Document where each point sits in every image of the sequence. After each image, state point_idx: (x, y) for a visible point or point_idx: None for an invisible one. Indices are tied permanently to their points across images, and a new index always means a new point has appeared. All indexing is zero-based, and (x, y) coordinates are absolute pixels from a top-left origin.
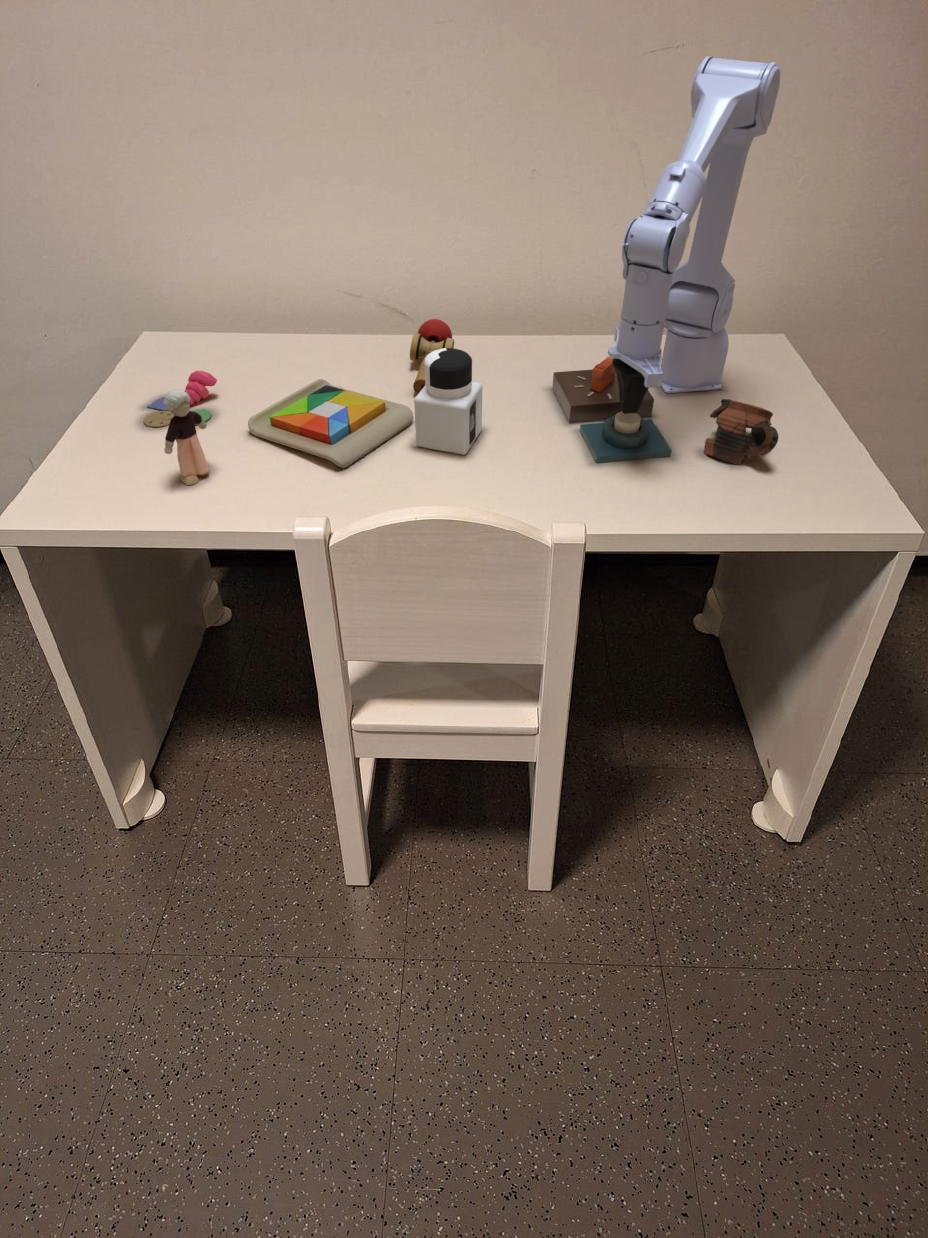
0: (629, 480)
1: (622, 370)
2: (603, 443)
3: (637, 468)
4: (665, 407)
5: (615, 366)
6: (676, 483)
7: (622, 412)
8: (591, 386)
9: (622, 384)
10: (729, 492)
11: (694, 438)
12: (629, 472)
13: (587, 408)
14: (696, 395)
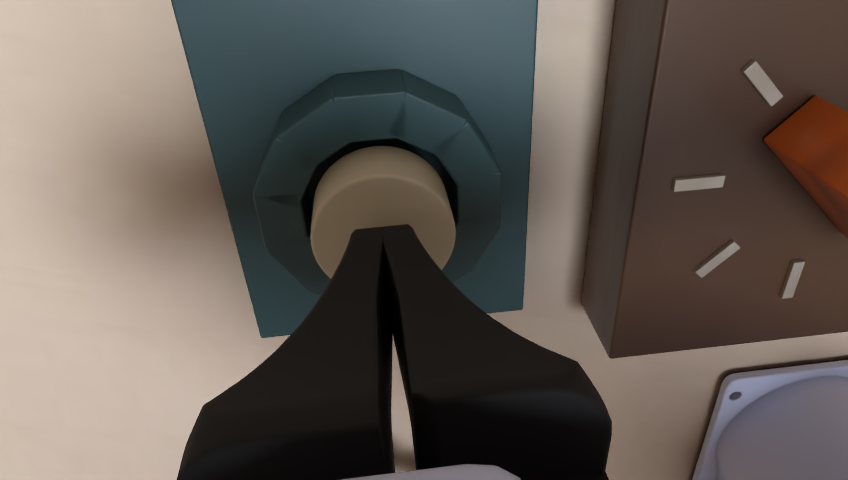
0: (42, 128)
1: (243, 465)
2: (314, 61)
3: (162, 182)
4: (635, 356)
5: (420, 398)
6: (63, 304)
7: (438, 221)
8: (823, 104)
9: (307, 347)
10: (41, 439)
11: (402, 403)
12: (120, 141)
13: (646, 37)
14: (678, 446)
